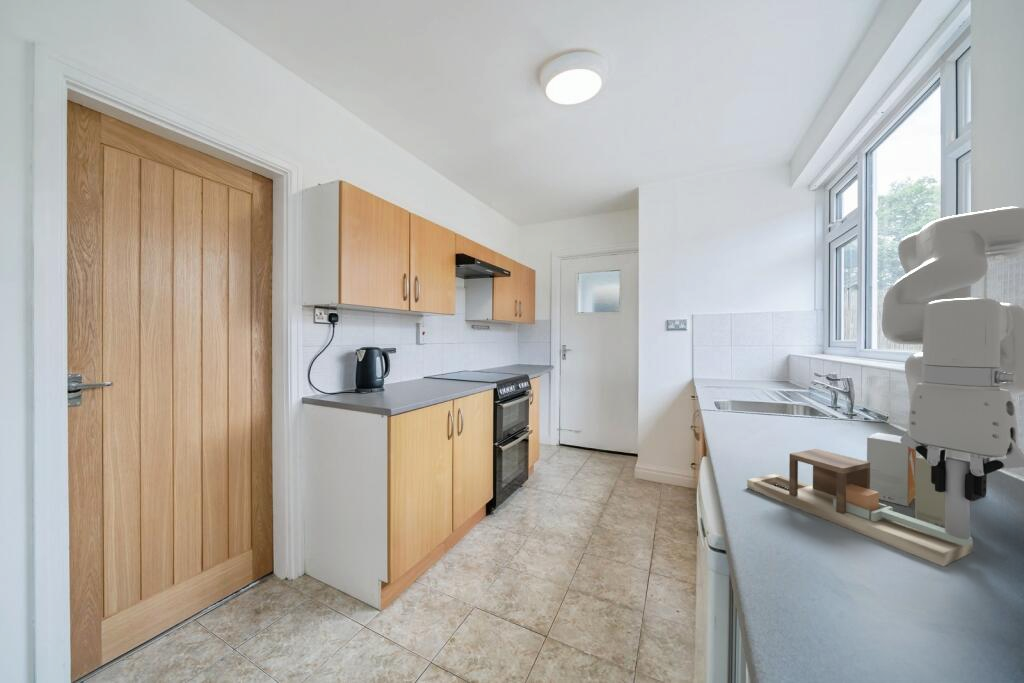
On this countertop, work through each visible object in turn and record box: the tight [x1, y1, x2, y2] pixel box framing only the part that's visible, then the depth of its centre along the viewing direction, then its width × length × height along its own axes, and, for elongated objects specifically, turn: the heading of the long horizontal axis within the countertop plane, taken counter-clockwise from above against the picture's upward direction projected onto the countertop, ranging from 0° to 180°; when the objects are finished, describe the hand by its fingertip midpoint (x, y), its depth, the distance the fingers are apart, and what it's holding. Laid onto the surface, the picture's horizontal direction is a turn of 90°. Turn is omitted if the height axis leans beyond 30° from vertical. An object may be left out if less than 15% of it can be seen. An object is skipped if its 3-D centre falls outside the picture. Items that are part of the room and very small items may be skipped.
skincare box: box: [914, 455, 945, 528], centre depth 66 cm, size 6×4×12 cm
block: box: [846, 484, 880, 512], centre depth 66 cm, size 4×4×4 cm
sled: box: [833, 457, 973, 546], centre depth 61 cm, size 6×16×13 cm, turn 22°
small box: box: [866, 432, 916, 507], centre depth 77 cm, size 8×6×13 cm
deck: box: [746, 473, 974, 567], centre depth 69 cm, size 10×30×2 cm, turn 22°
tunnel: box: [788, 448, 870, 514], centre depth 71 cm, size 9×9×8 cm
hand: (957, 493), depth 55 cm, fingers closed on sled, 2 cm apart
